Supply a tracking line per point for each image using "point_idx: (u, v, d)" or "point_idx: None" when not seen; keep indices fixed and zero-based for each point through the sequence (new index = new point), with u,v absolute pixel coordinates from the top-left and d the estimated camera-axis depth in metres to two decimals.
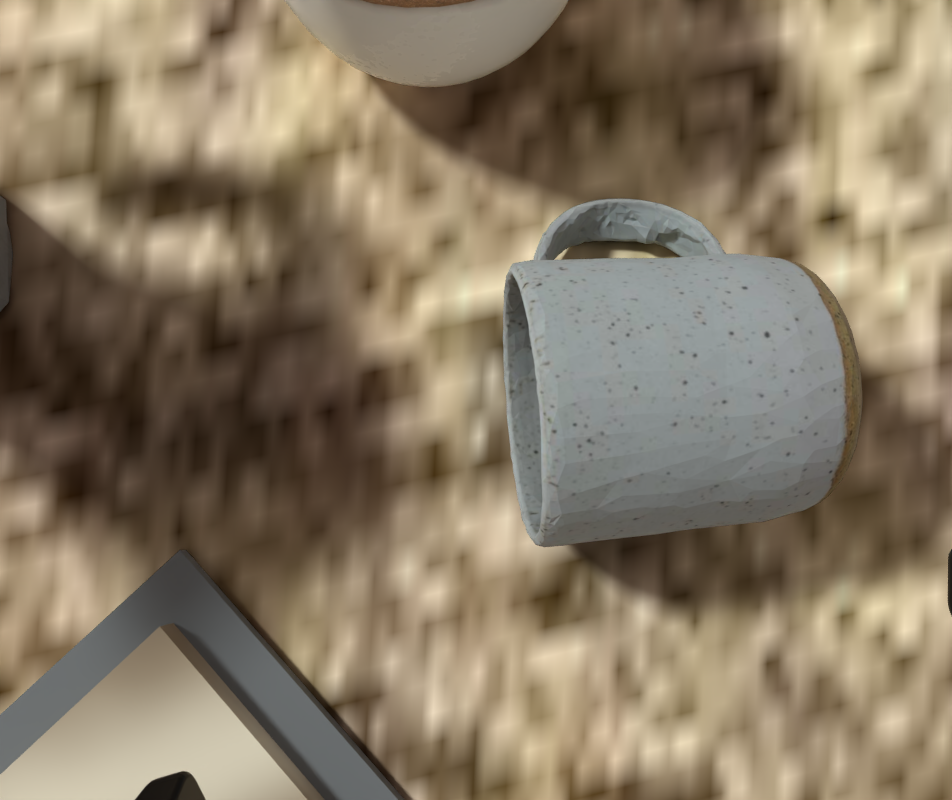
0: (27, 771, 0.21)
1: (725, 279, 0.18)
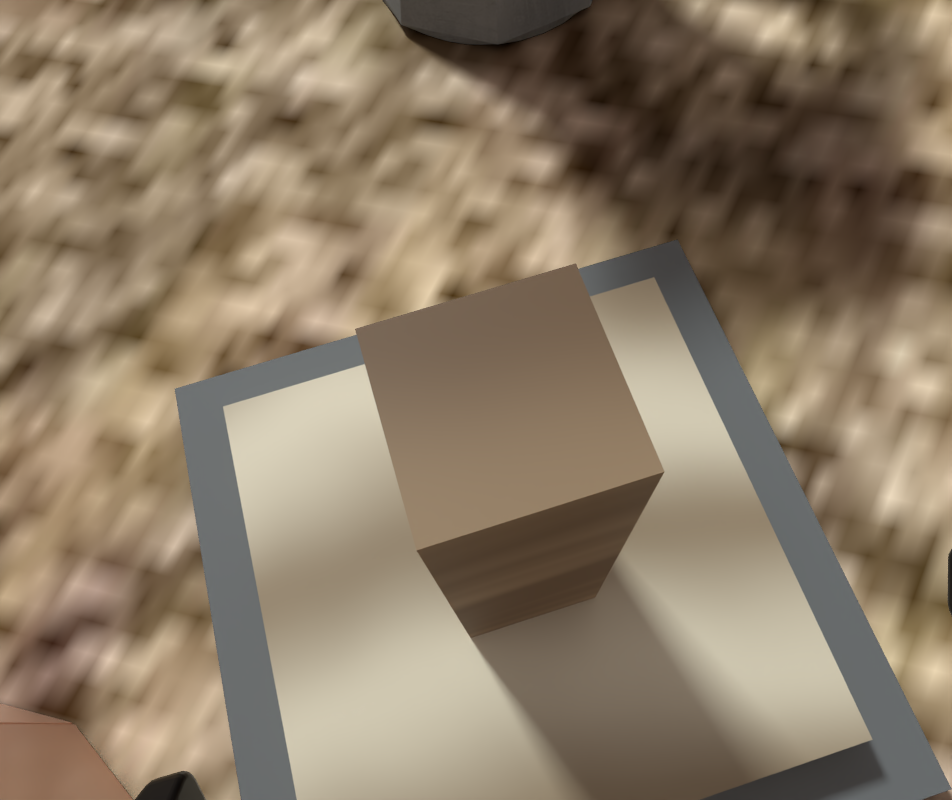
0: None
1: None
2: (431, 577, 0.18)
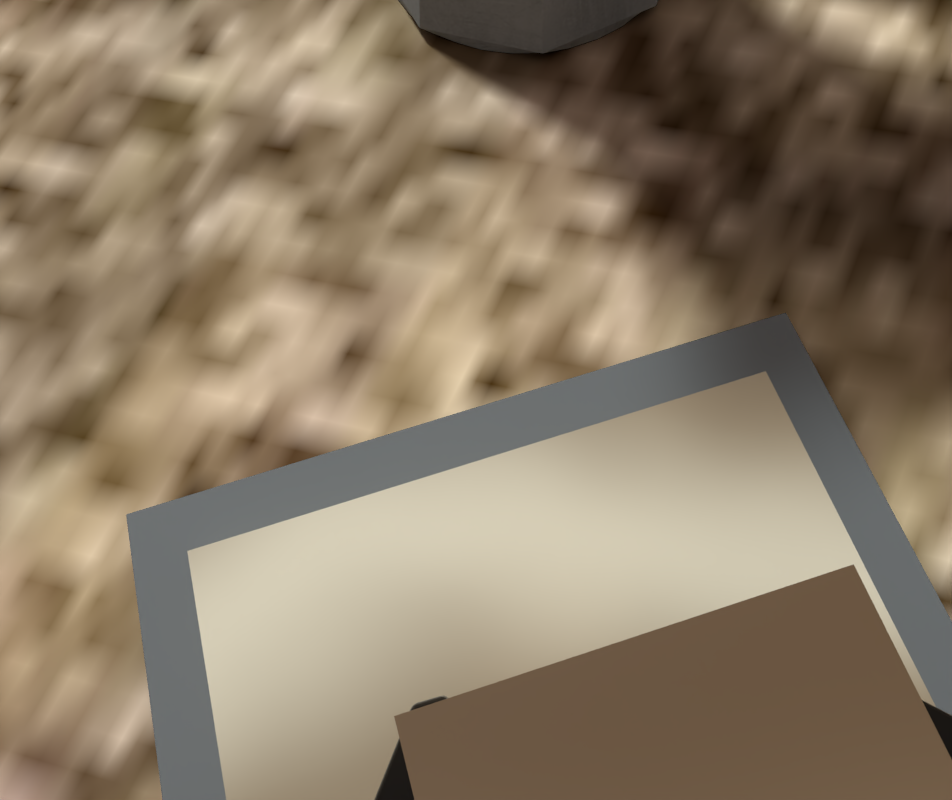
0: (535, 465, 0.15)
1: None
2: None
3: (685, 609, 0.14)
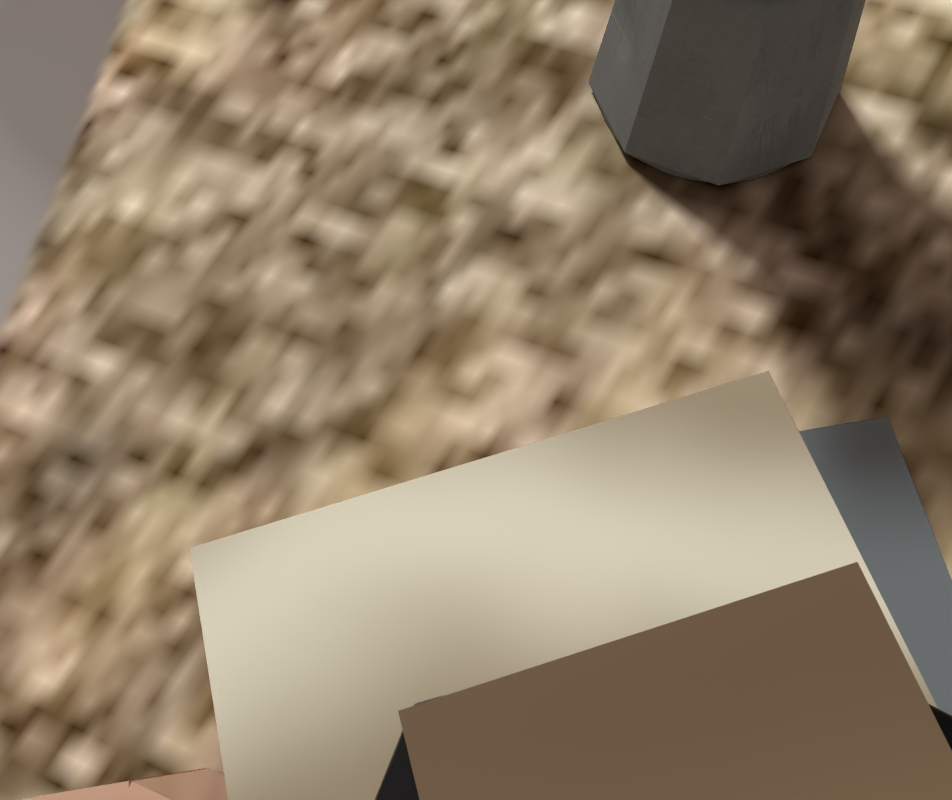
0: (538, 464, 0.15)
1: None
2: None
3: (687, 608, 0.14)
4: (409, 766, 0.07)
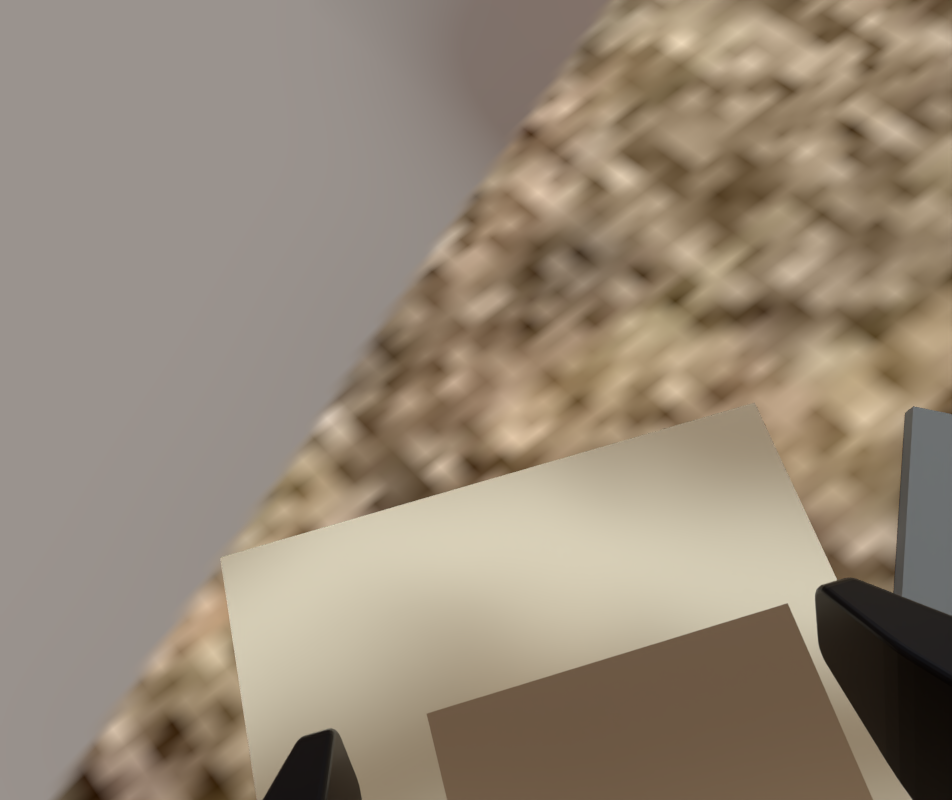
0: (540, 485, 0.16)
1: None
2: None
3: (674, 621, 0.15)
4: None
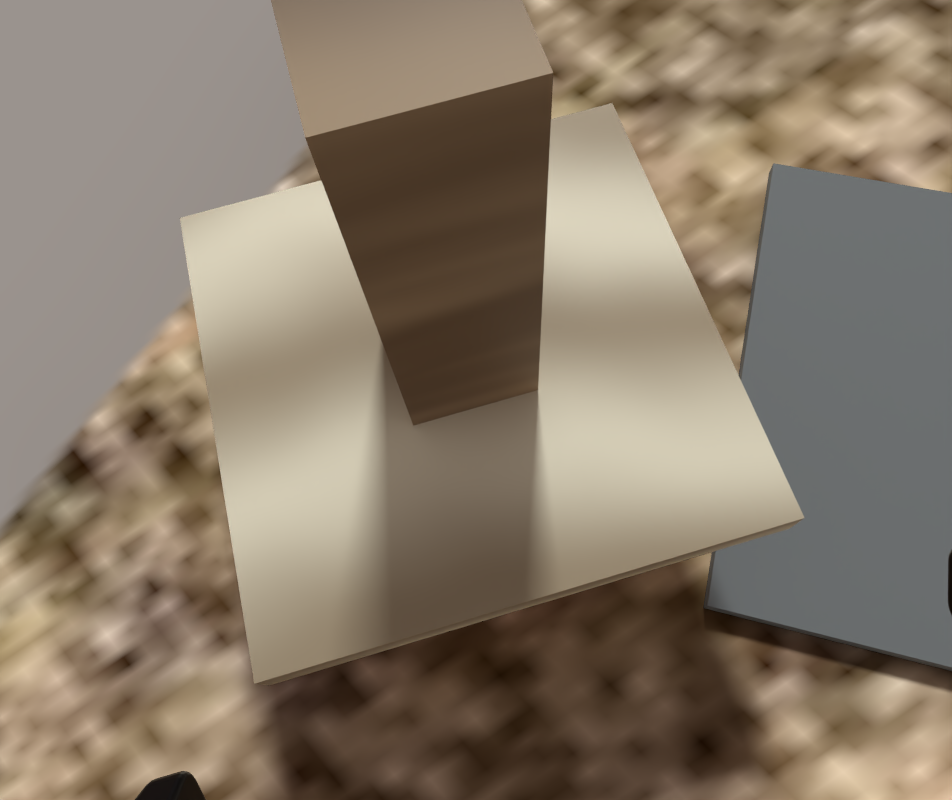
0: None
1: None
2: (377, 371, 0.18)
3: None
4: None
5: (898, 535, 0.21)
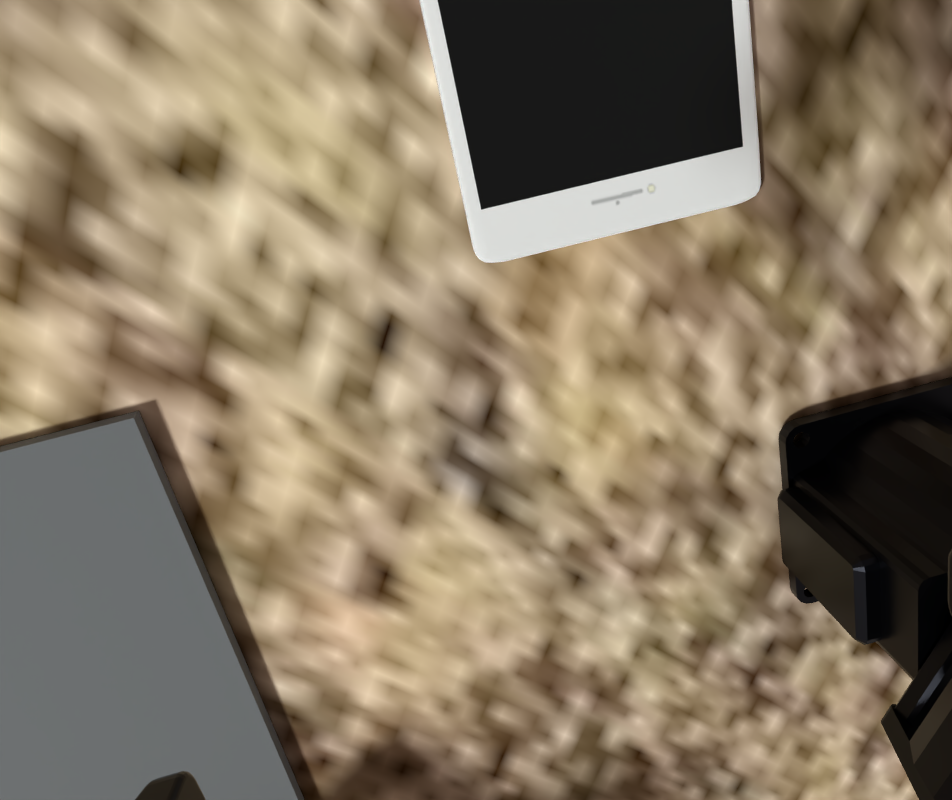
0: None
1: None
2: None
3: None
4: None
5: (161, 745, 0.23)
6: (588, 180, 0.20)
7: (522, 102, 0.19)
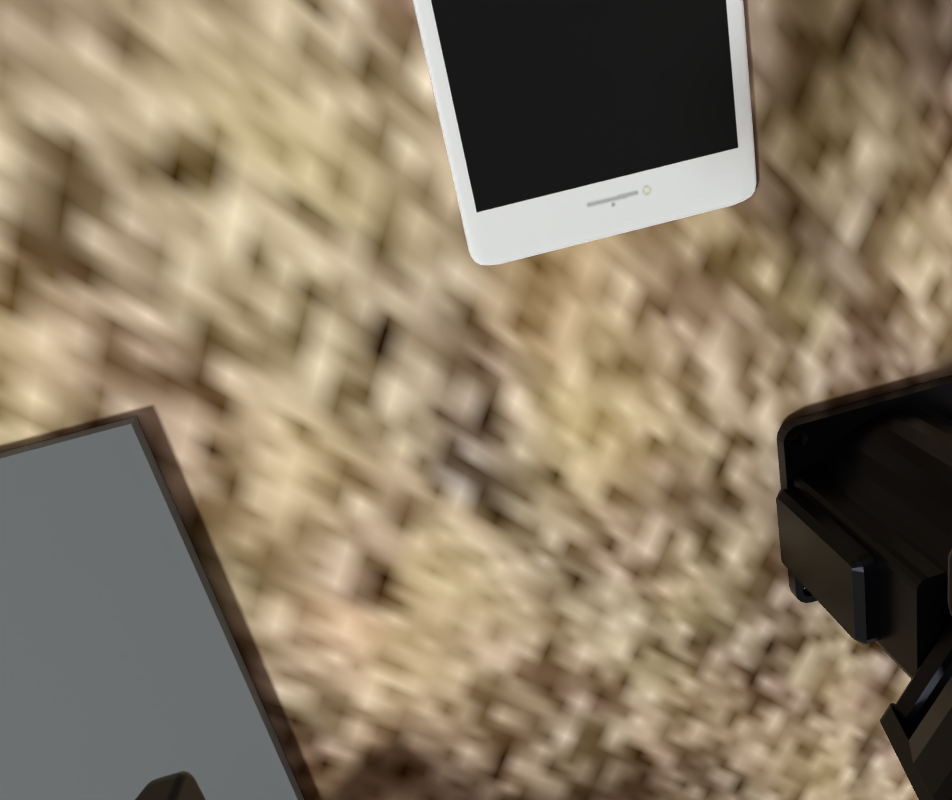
0: None
1: None
2: None
3: None
4: None
5: (162, 749, 0.23)
6: (583, 182, 0.20)
7: (517, 105, 0.19)
